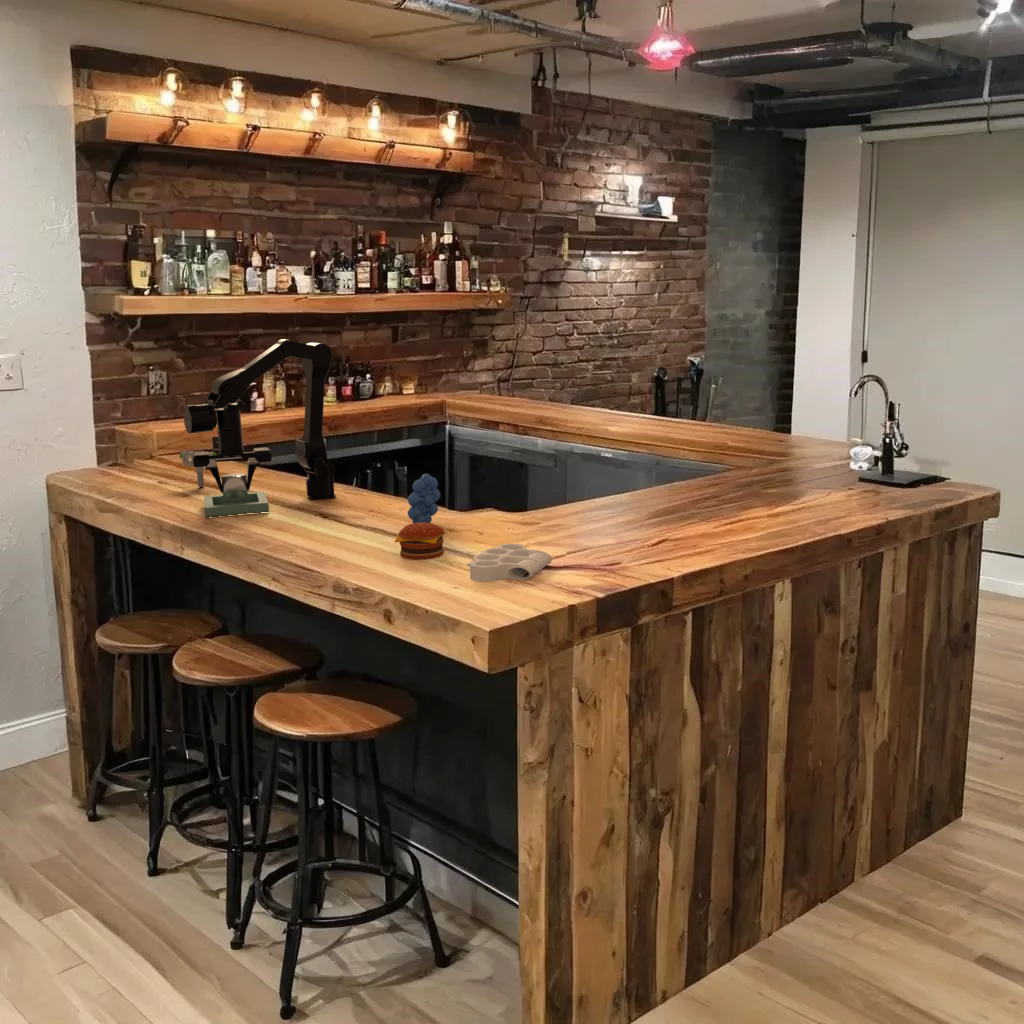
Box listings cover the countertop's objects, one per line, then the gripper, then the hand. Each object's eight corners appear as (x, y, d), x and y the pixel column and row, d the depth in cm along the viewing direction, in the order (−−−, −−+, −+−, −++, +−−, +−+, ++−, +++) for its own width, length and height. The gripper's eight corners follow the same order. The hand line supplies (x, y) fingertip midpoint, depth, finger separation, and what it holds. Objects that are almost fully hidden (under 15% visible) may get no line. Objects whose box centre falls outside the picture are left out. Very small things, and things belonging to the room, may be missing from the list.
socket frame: (264, 501, 290) (264, 491, 290) (269, 513, 276) (268, 502, 276) (204, 506, 286) (203, 496, 286) (205, 518, 272) (204, 508, 272)
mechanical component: (216, 489, 308) (212, 452, 306) (181, 488, 310) (178, 452, 308) (220, 486, 311) (217, 450, 308) (186, 486, 313) (183, 450, 310)
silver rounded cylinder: (247, 492, 284) (245, 472, 283) (248, 496, 278) (246, 476, 277) (222, 494, 283) (220, 474, 281) (223, 498, 277) (221, 478, 276)
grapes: (423, 519, 265) (421, 468, 263) (447, 521, 262) (445, 470, 259) (395, 529, 255) (392, 477, 253) (419, 532, 252) (417, 479, 250)
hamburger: (394, 560, 230) (392, 528, 229) (407, 548, 239) (406, 517, 238) (438, 561, 228) (437, 529, 227) (450, 549, 238) (449, 518, 236)
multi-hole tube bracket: (523, 587, 210) (452, 581, 215) (557, 562, 226) (490, 557, 231) (523, 570, 209) (452, 564, 214) (557, 546, 225) (490, 541, 231)
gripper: (266, 422, 287) (270, 482, 290) (190, 427, 282) (195, 488, 285) (269, 428, 276) (274, 490, 280) (190, 433, 271) (196, 497, 275)
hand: (235, 491), depth 280 cm, fingers closed on silver rounded cylinder, 6 cm apart
